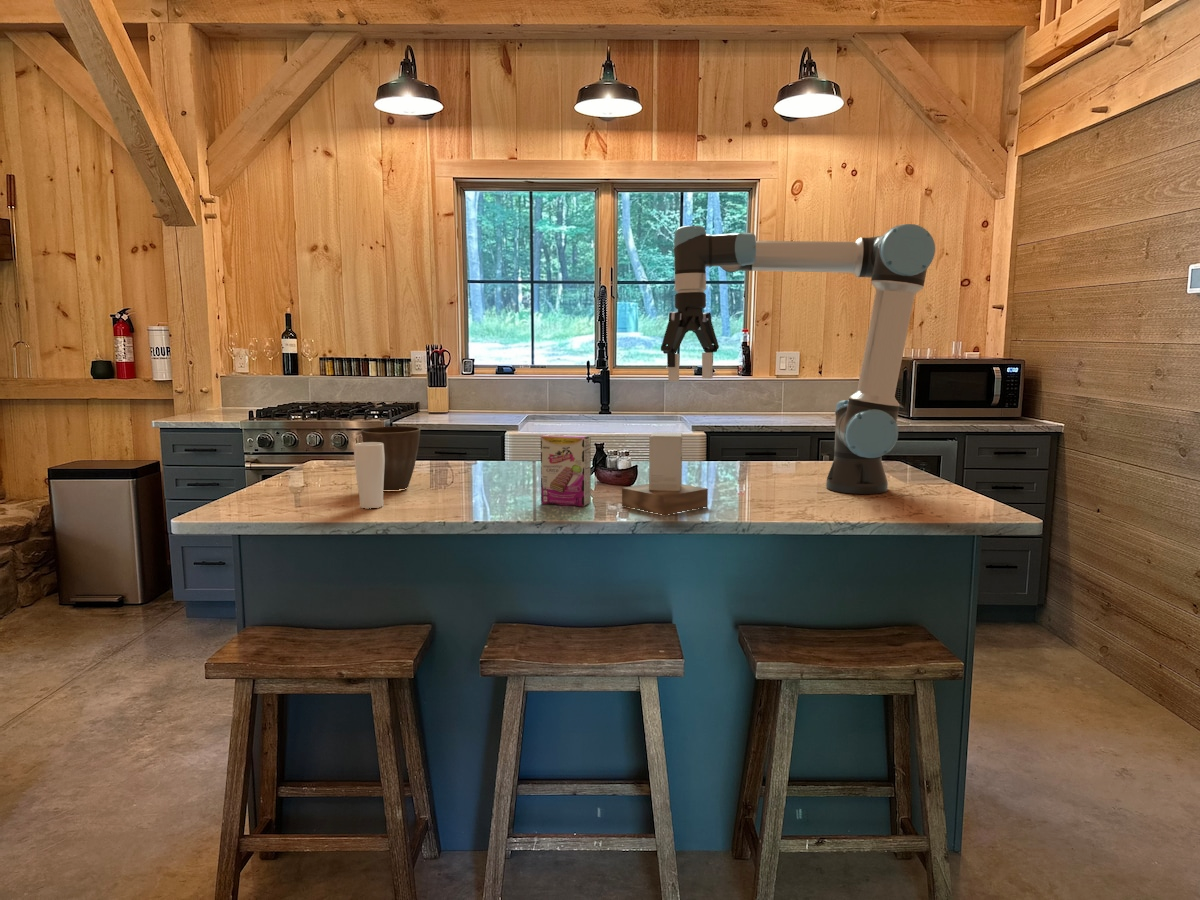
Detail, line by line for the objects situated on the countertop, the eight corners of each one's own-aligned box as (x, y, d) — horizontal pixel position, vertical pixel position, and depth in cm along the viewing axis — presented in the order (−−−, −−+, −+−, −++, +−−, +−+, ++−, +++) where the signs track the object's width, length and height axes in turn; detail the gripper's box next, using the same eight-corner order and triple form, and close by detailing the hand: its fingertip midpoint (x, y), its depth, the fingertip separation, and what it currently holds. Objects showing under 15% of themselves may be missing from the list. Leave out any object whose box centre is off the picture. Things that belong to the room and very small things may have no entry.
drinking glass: (359, 511, 179) (356, 446, 177) (354, 506, 184) (351, 443, 182) (389, 508, 182) (386, 444, 180) (383, 503, 188) (380, 441, 186)
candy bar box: (540, 504, 186) (539, 435, 183) (548, 500, 190) (547, 433, 188) (584, 507, 182) (583, 437, 180) (591, 503, 187) (591, 435, 184)
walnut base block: (707, 509, 181) (707, 488, 181) (664, 518, 172) (664, 496, 172) (664, 501, 192) (664, 481, 191) (622, 509, 183) (622, 487, 182)
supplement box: (680, 491, 177) (681, 436, 175) (648, 490, 178) (648, 435, 177) (682, 485, 184) (683, 432, 183) (651, 484, 186) (651, 431, 184)
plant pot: (434, 488, 208) (432, 428, 206) (391, 497, 195) (389, 433, 193) (394, 482, 216) (392, 425, 214) (351, 491, 203) (348, 430, 201)
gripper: (708, 294, 202) (708, 377, 205) (645, 291, 184) (646, 381, 187) (732, 292, 197) (732, 377, 199) (670, 289, 179) (671, 382, 182)
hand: (691, 379), depth 193 cm, fingers open, 13 cm apart
